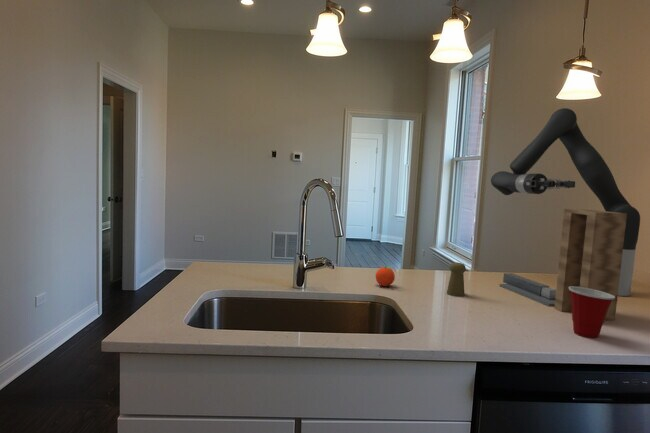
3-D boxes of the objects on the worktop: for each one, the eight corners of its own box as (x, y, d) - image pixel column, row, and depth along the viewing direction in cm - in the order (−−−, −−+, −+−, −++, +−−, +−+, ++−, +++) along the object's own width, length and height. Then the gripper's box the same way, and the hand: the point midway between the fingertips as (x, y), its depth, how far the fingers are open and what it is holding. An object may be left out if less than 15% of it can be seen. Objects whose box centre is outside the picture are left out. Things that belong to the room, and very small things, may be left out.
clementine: (391, 283, 166) (392, 264, 165) (400, 287, 159) (401, 268, 159) (371, 283, 163) (372, 264, 163) (379, 288, 157) (381, 268, 156)
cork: (467, 294, 154) (470, 263, 153) (459, 297, 150) (462, 265, 149) (451, 290, 159) (454, 260, 158) (443, 293, 154) (445, 262, 153)
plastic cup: (620, 342, 114) (626, 296, 113) (580, 341, 113) (585, 295, 112) (592, 327, 125) (596, 285, 124) (555, 326, 124) (559, 284, 123)
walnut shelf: (583, 307, 145) (593, 209, 142) (614, 319, 133) (626, 213, 130) (554, 308, 142) (564, 208, 139) (584, 321, 131) (595, 212, 128)
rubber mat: (524, 285, 172) (524, 283, 172) (576, 305, 147) (577, 303, 147) (499, 285, 170) (499, 283, 170) (548, 306, 145) (548, 303, 144)
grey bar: (510, 282, 174) (511, 273, 173) (557, 299, 151) (558, 289, 150) (503, 282, 173) (503, 273, 173) (548, 299, 150) (549, 289, 149)
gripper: (515, 173, 164) (546, 172, 149) (548, 174, 168) (582, 173, 152) (513, 193, 165) (544, 195, 149) (546, 194, 168) (580, 195, 152)
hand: (563, 184), depth 151 cm, fingers open, 8 cm apart
